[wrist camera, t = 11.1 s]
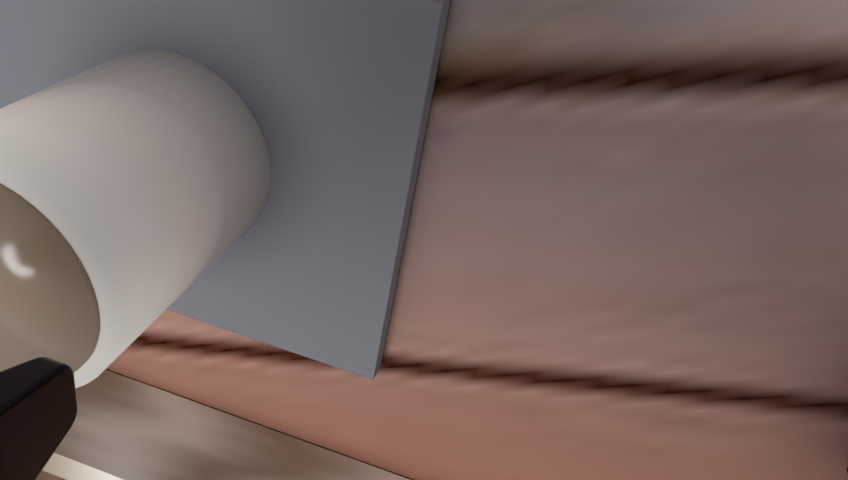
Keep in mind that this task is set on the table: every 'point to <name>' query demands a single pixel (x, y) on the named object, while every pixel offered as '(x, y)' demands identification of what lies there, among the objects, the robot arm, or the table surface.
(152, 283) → the pot
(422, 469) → the table surface
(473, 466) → the table surface
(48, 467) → the beige square frame
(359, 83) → the mat
